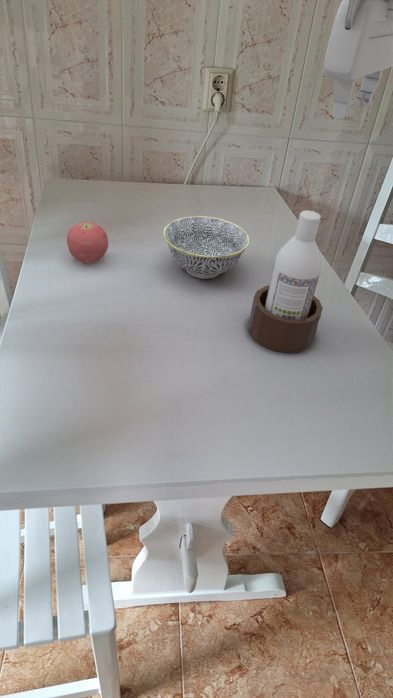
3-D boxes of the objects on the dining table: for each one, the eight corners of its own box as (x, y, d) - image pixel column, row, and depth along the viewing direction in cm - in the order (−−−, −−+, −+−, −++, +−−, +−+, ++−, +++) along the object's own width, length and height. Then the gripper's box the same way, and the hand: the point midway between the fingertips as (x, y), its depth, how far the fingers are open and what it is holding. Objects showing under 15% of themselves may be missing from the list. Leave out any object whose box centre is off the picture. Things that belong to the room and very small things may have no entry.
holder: (305, 315, 86) (313, 286, 82) (319, 354, 78) (329, 324, 74) (244, 312, 85) (250, 282, 81) (253, 351, 77) (259, 321, 73)
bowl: (237, 299, 88) (243, 262, 83) (152, 283, 89) (153, 245, 85) (247, 258, 100) (254, 224, 95) (172, 244, 102) (175, 210, 97)
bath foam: (309, 340, 79) (344, 225, 66) (268, 342, 77) (296, 225, 65) (293, 315, 84) (323, 204, 72) (255, 317, 83) (279, 204, 70)
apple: (64, 254, 94) (60, 215, 89) (100, 249, 97) (99, 210, 92) (75, 273, 90) (72, 233, 85) (113, 266, 93) (112, 227, 88)
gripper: (389, -22, 47) (349, 131, 55) (432, -16, 61) (394, 105, 70) (327, -28, 49) (298, 119, 58) (382, -21, 63) (352, 96, 72)
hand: (351, 111), depth 64 cm, fingers open, 8 cm apart
